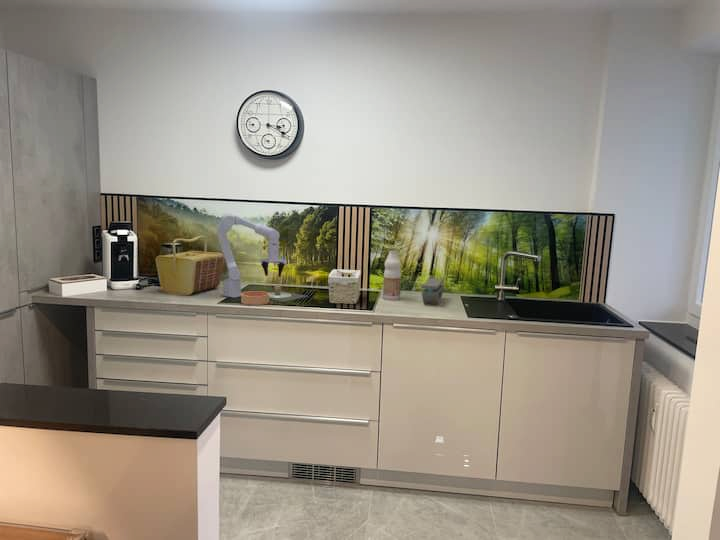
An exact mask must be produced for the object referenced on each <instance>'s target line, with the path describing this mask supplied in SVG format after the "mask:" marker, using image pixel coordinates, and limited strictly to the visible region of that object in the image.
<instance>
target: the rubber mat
mask: <svg viewBox="0 0 720 540" xmlns="http://www.w3.org/2000/svg"><path fill="white" fill-rule="evenodd" d="M273 292H275V290H274V291H273ZM281 292H284V293H289V294H291V297H290V298H284V299H273V298H269V301H273V302H278V303H282V304H283V303H288V302H292V301H297V300H301V299H306V298H308V297H309V295H304V294H300V293H293V292H288V291H283V290H281Z"/></svg>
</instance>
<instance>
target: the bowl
mask: <svg viewBox="0 0 720 540" xmlns="http://www.w3.org/2000/svg"><path fill="white" fill-rule="evenodd" d="M240 297H241V298H240V299H241V300H240V302H241V304H243V305H245V306H263V305H268V304H270V300H269V292H268V291H262V290H257V291H255V290H249V291H243V292H241V296H240Z"/></svg>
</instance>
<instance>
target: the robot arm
mask: <svg viewBox="0 0 720 540" xmlns="http://www.w3.org/2000/svg"><path fill="white" fill-rule="evenodd" d="M234 225H235V226H237V225H240V226H241V225H242V226H243V227H246V228H250V229H251V230H253V231H254V233H255V234H257V235H260V236H262V237H264V238H268V243H267V258H260V259H259V262H260V263H261V267H262V269H263V271H264V272H263V273H264V277H267V276H269V264H277V268H278V272H277V273H278V274H277V275H278V276H277V277H279V278H280V277H282V273H283V270H284V268H285V266H286V264H287V260H286V259H281V258H280V259H279V250H280V246H279V239H280V237H281V235H280V233H279V231H278V230H276V229H274V228H273V227H272V226H270V227H269V226H267V225H265V223H263V222H262V223H260V222H259V223H254V222H252V221H249V220H248V219H246V218H243V217H241V216H238V215H232V214H231V213H225V214H223V215H222V217H221V218H220V219H219V222H218V225H217V229H216V235H217V237H218V241H219V244H220V248H221V251H222V254H223V256H224V261H225V263H226V267H227V275H228V277H227V278H225V279H224V280H223V282H222V294H221V296H224V297H229V298H239V297H241V293H242V280H241V279H242V278H241V275H242V273H241V270H240V269H239V268H238V266H237V264H236V261H235V258H234V257H235V256H234V254H233V252H232V251H233V250H232V247H231V244H230V241H229V237H228V235H227V233H228V232H229V230H230V228H232V227H234Z"/></svg>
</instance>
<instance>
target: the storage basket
mask: <svg viewBox="0 0 720 540" xmlns="http://www.w3.org/2000/svg"><path fill="white" fill-rule="evenodd" d="M343 275H348V276H343ZM349 275H350V276H349ZM351 275H352V276H351ZM361 276H362V271H361V270H359V269H358V270H356V269H340V268H339V269H335V268H333V269H332V270H331V271H330V273H329V274H328V277H327V284H328V298H329V303H330V304H331V303H332V304H342V303H343V304H346V305H348V304H350V305H355V304H357V303H358V302H359V297H360V288H361V287H360V285H361V284H360V283H361Z"/></svg>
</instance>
